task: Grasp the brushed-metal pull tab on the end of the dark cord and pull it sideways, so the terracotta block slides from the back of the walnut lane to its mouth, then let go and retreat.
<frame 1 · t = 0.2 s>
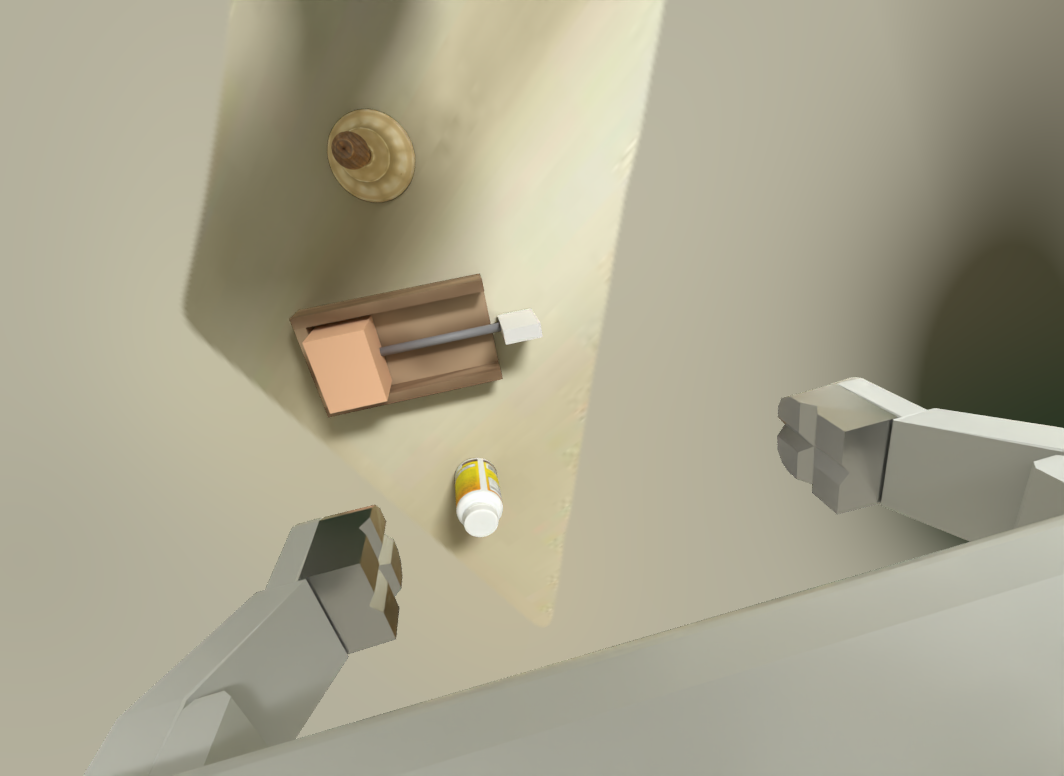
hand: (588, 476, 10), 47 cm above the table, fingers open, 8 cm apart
supplement bottle: (475, 472, 65), on the table
pull block: (432, 344, 53), point 4 cm above the table, slide at 0.0 cm
hand bell: (372, 157, 48), on the table
shelf lane: (404, 340, 56), on the table
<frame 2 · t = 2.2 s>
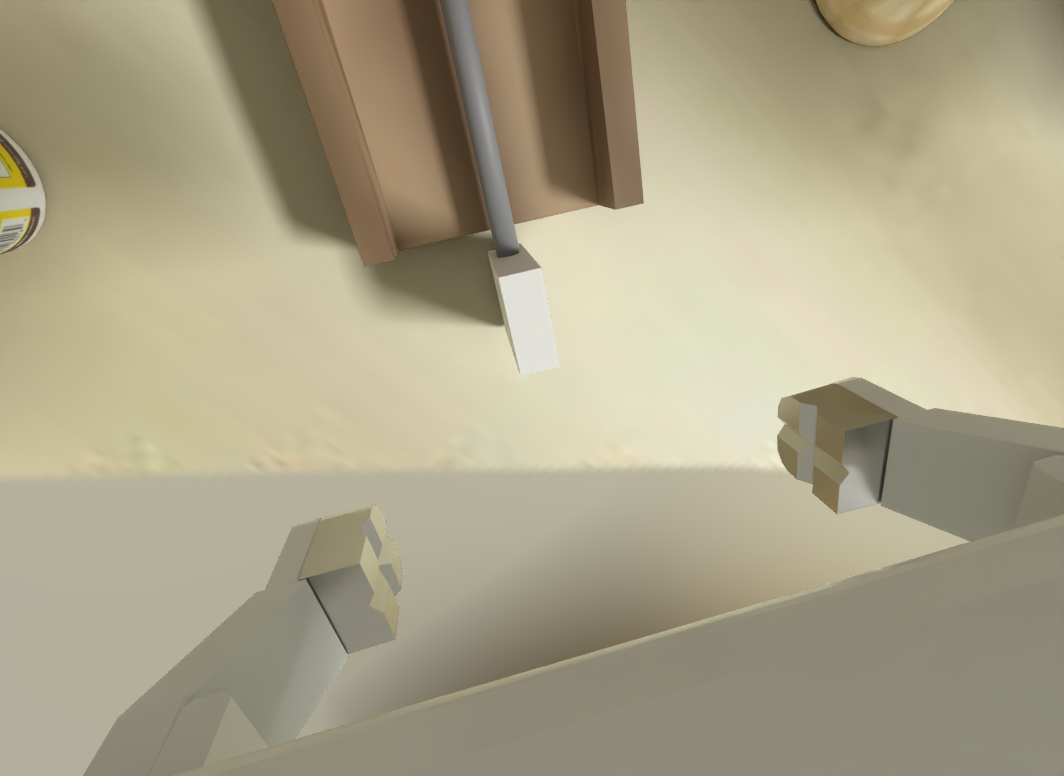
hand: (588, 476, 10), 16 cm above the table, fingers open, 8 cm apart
pull block: (463, 34, 17), point 4 cm above the table, slide at 0.0 cm
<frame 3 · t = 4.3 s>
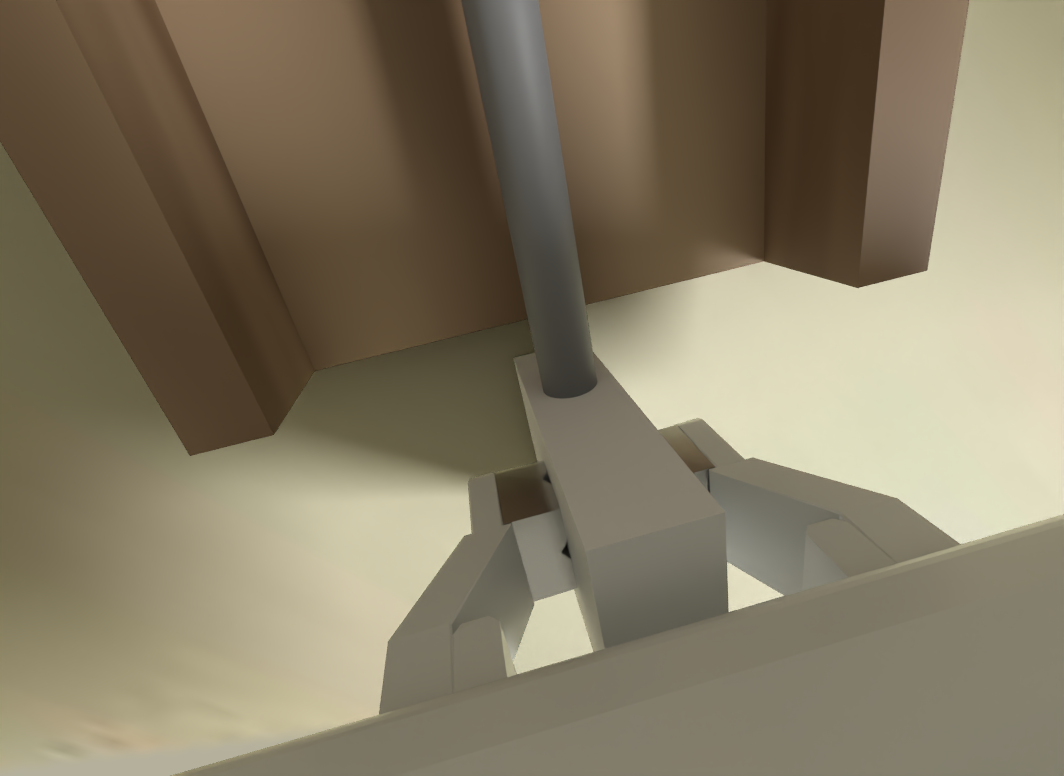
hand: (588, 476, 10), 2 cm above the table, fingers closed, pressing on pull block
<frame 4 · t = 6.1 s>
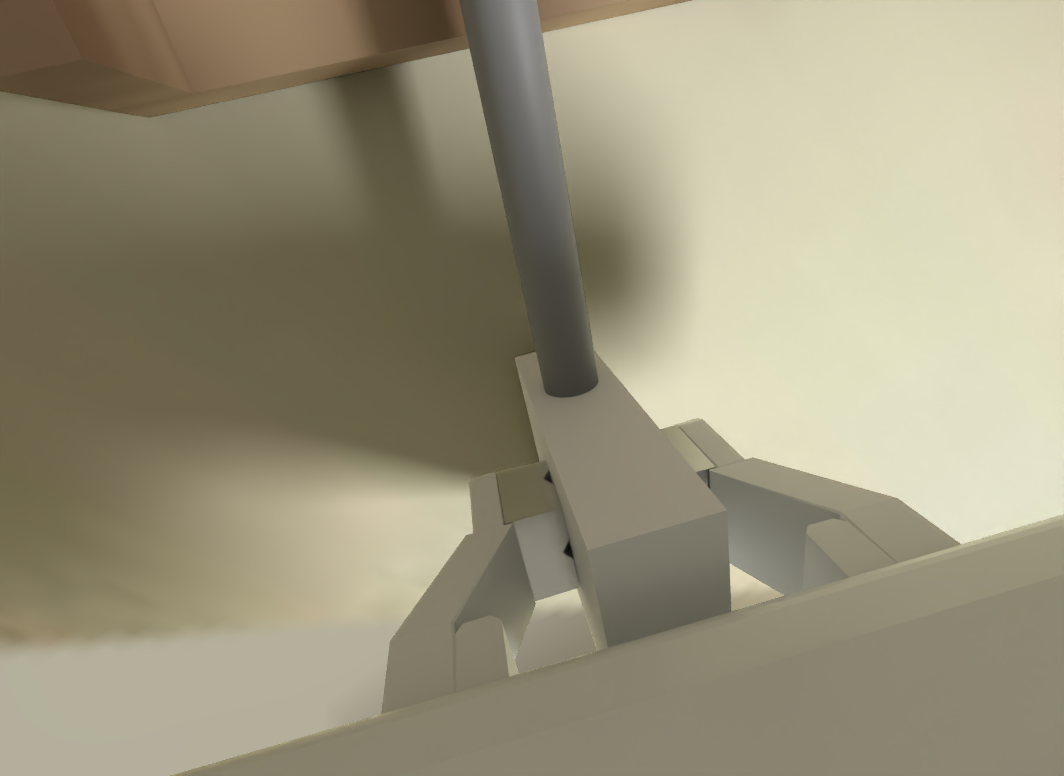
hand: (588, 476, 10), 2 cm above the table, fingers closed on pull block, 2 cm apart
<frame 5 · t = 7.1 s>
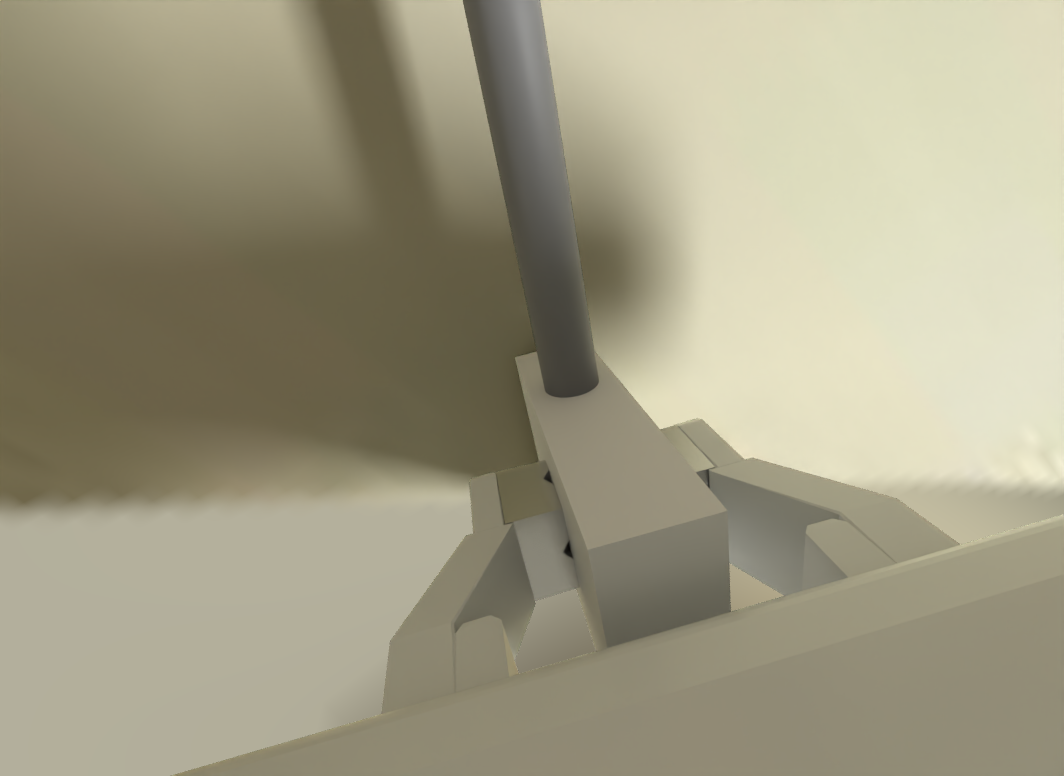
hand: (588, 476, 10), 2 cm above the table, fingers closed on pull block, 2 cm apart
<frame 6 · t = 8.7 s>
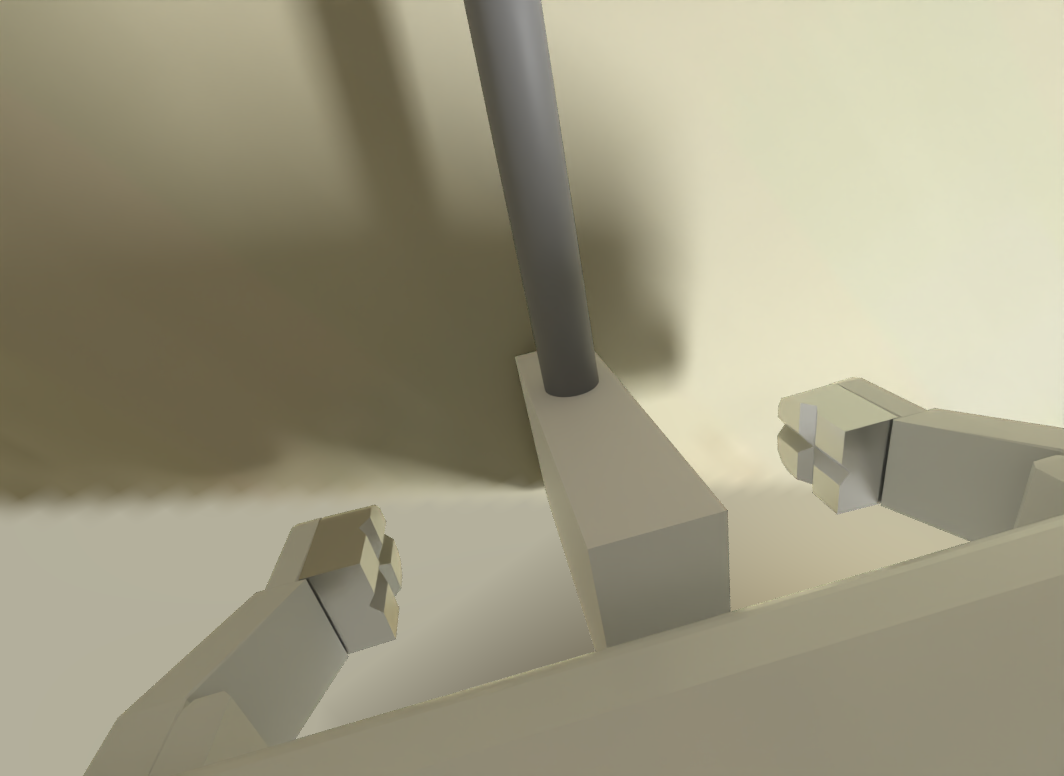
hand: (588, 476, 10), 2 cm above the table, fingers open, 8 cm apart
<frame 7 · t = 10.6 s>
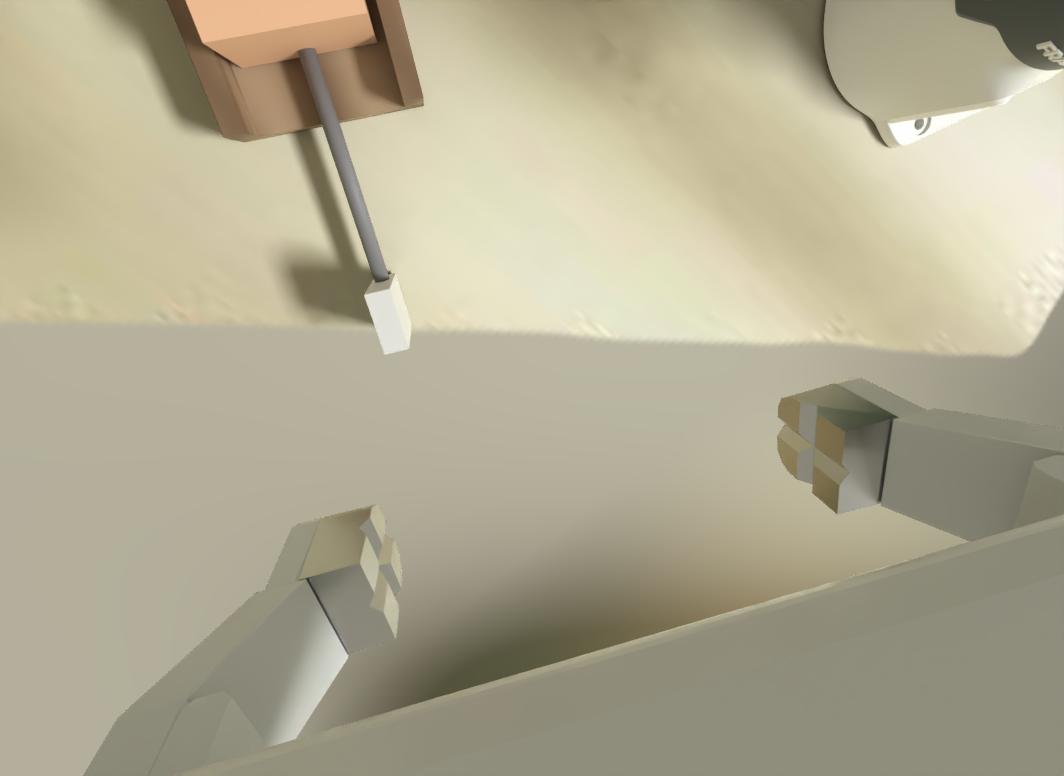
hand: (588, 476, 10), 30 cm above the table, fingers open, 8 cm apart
pull block: (338, 157, 29), point 4 cm above the table, slide at 9.0 cm
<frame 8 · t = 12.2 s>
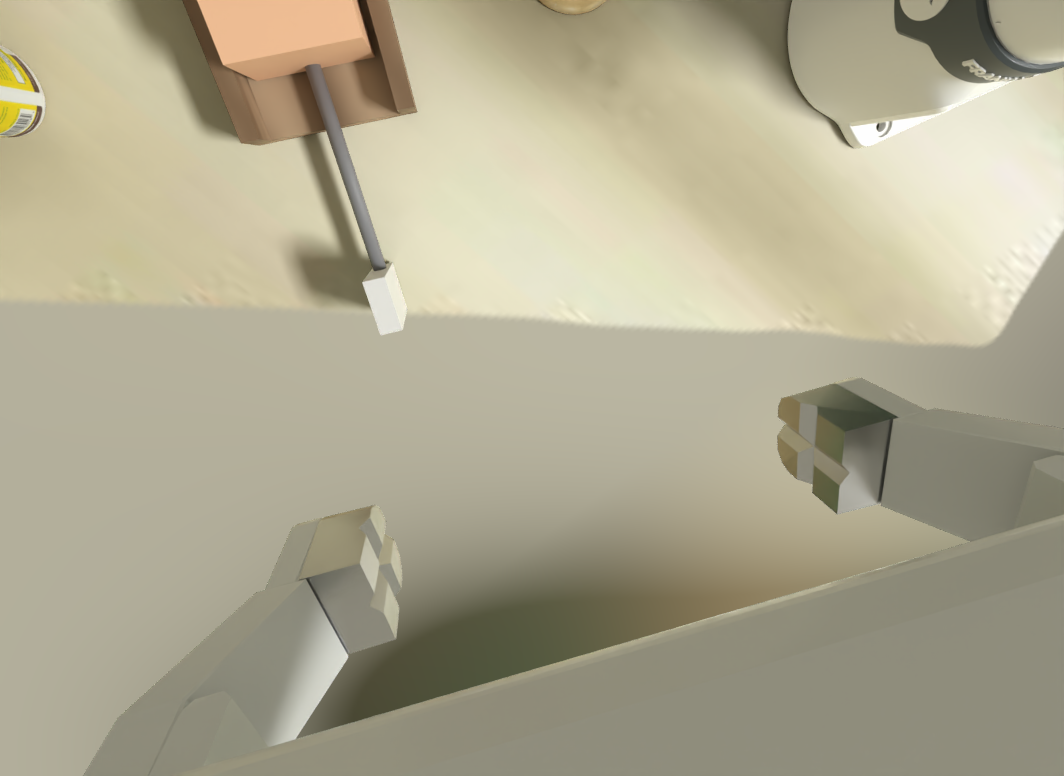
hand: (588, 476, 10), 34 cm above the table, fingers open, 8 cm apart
supplement bottle: (2, 91, 32), on the table
pull block: (340, 160, 33), point 4 cm above the table, slide at 9.0 cm
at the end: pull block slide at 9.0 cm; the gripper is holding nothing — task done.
